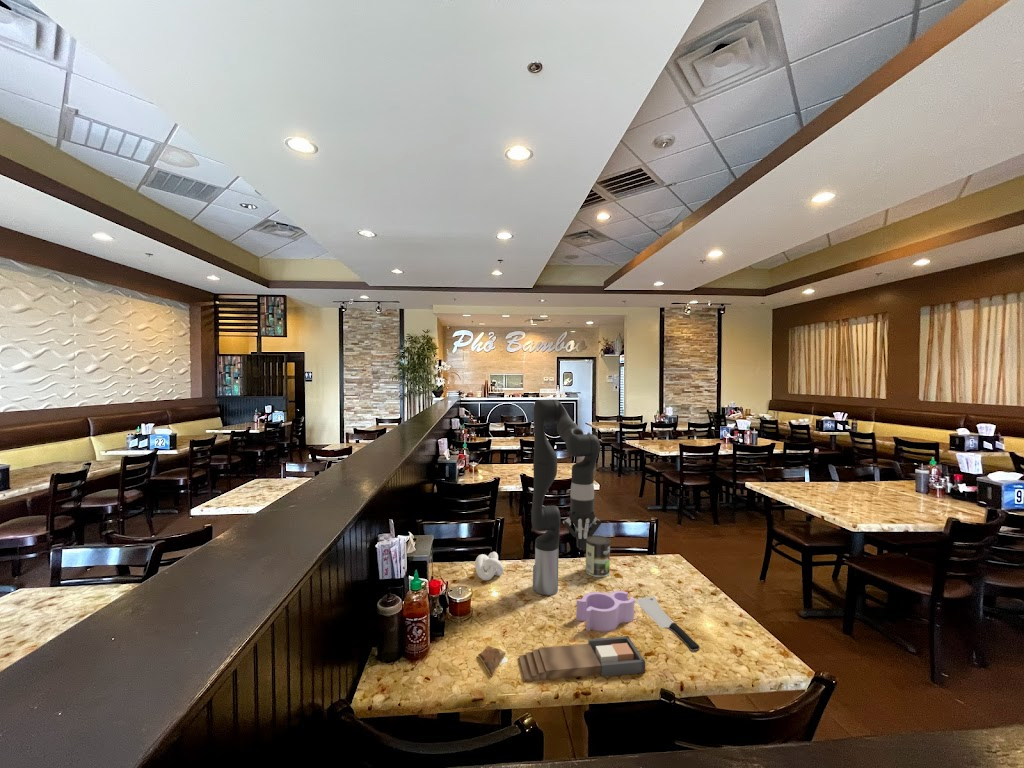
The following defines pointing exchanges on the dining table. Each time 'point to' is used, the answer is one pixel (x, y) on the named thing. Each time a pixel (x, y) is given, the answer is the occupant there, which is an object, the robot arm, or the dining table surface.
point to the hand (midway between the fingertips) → (581, 548)
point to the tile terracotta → (623, 652)
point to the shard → (491, 658)
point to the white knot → (488, 566)
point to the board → (569, 661)
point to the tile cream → (606, 654)
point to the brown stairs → (532, 666)
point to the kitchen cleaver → (664, 620)
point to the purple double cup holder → (605, 610)
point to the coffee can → (598, 556)
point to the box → (622, 666)
